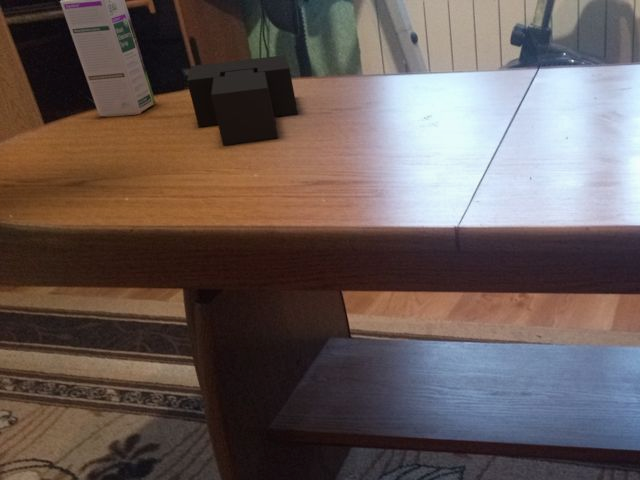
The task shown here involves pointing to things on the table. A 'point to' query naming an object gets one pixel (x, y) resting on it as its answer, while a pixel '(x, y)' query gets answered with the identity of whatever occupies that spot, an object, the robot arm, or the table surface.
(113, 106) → the syrup box
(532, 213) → the table surface
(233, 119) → the block
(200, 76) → the block
